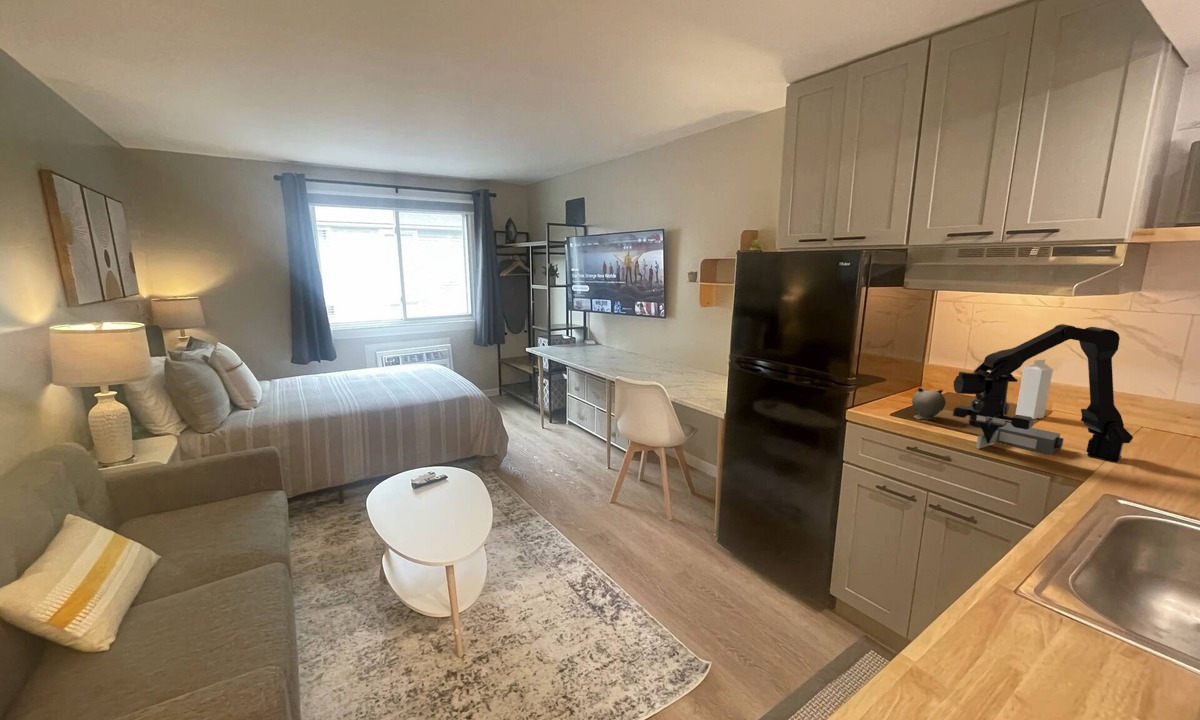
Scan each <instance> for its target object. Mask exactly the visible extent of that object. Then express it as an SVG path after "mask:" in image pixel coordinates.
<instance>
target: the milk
mask: <svg viewBox="0 0 1200 720" xmlns="http://www.w3.org/2000/svg"><path fill="white" fill-rule="evenodd" d="M1045 362H1046V359H1036V360H1034V361H1033V364H1031V365H1027V366H1024V367H1023V369H1022V377H1021V381H1020V387H1019V393H1018V398H1017V399H1018V400H1017V405H1016V409H1015V416H1016V415H1022V416H1028V417H1032V419H1033V420H1037V418H1039V419H1044V417H1045V413H1046V408H1047V403H1048V397H1049V392H1050V387H1051V381H1052V376H1053V371H1054V369H1053V368H1052V367H1051V366H1049V365H1048V364H1046V363H1045Z"/></svg>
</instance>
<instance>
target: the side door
mask: <svg viewBox="0 0 1200 720" xmlns="http://www.w3.org/2000/svg"><path fill="white" fill-rule="evenodd" d="M996 434H997V431H996V432H995V434H994V435H993V437H992V439H991V440H990V443H987V441H986V438H985V435H984V433H982V434H980V435H977V441H976V445H975V446H976V447H975V448H976V449H981V448H984V447H987V446H989V445H992V444H996V443H995V440H996Z"/></svg>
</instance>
